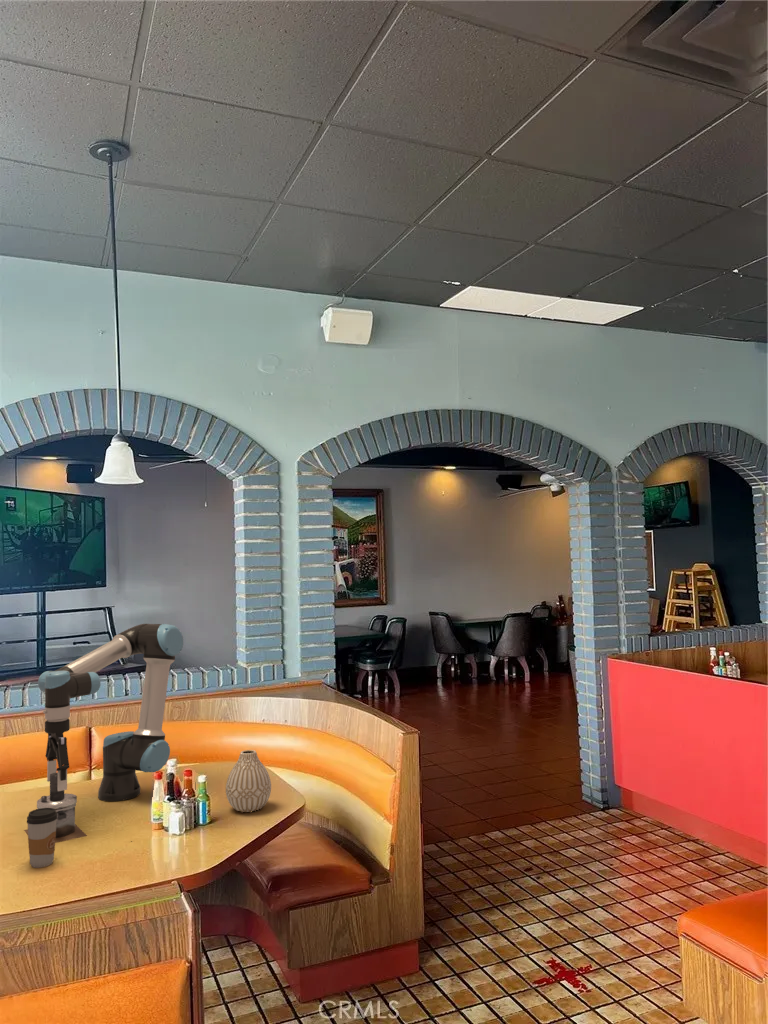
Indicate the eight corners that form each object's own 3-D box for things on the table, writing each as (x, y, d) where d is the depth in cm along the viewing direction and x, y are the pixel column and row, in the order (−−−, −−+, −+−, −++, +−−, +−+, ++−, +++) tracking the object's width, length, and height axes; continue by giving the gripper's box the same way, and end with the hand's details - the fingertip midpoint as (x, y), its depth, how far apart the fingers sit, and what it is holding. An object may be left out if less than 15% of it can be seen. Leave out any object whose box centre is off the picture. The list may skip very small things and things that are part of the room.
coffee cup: (45, 870, 222) (45, 817, 223) (19, 868, 224) (20, 815, 225) (63, 859, 230) (63, 807, 231) (38, 857, 232) (38, 806, 233)
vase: (216, 813, 269) (216, 755, 270) (241, 799, 284) (241, 744, 285) (256, 818, 263) (255, 759, 264) (279, 804, 278) (279, 748, 279)
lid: (71, 796, 260) (71, 767, 260) (81, 805, 250) (81, 774, 251) (33, 803, 253) (33, 773, 253) (41, 812, 243) (41, 781, 244)
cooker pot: (32, 829, 254) (32, 801, 254) (68, 822, 261) (69, 794, 261) (43, 843, 241) (43, 814, 242) (81, 835, 248) (82, 806, 248)
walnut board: (71, 822, 263) (71, 820, 263) (87, 838, 247) (87, 835, 247) (23, 832, 254) (23, 830, 254) (37, 849, 238) (37, 846, 239)
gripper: (36, 715, 261) (35, 779, 260) (54, 727, 241) (54, 796, 240) (59, 712, 265) (59, 774, 264) (79, 723, 245) (79, 792, 244)
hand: (56, 785), depth 252 cm, fingers open, 13 cm apart
